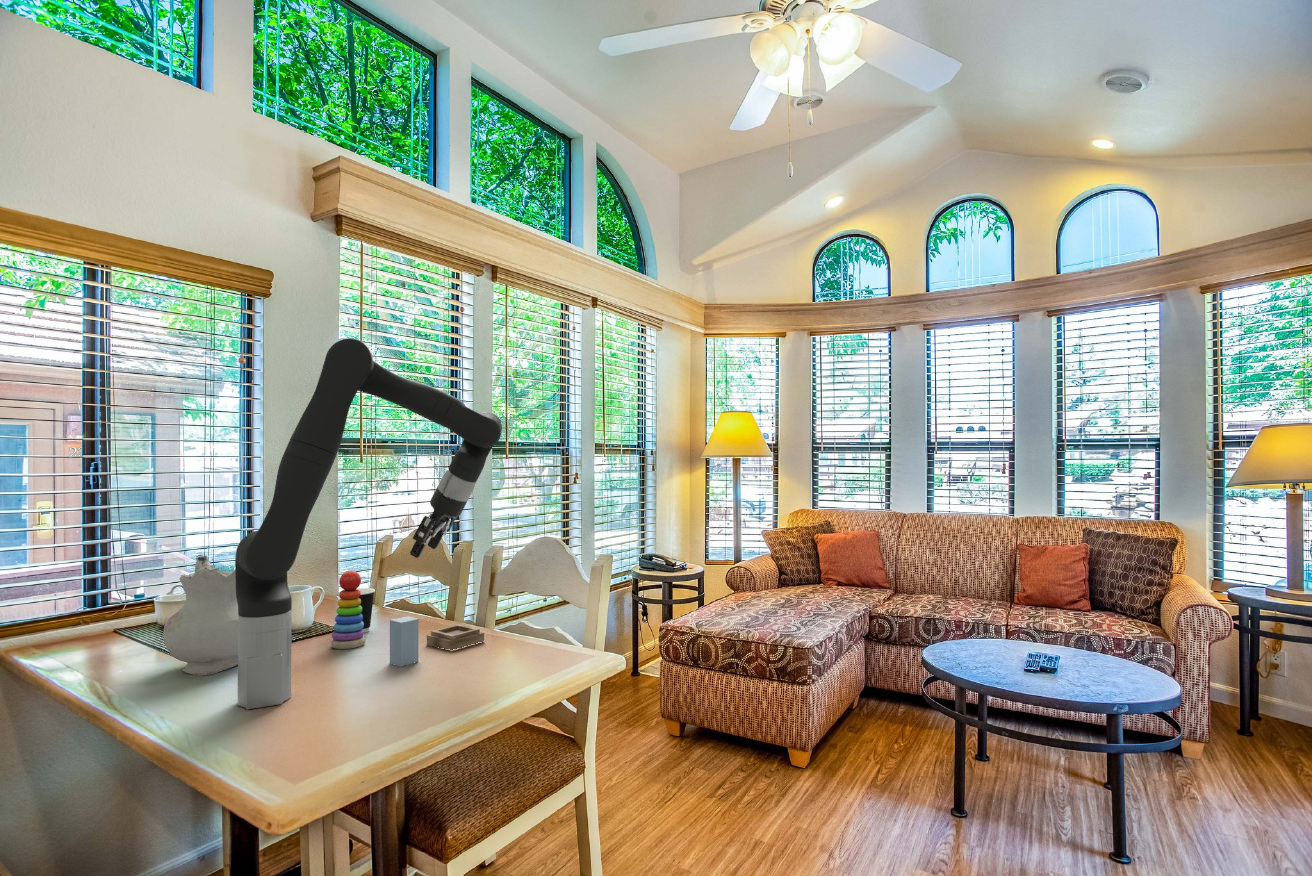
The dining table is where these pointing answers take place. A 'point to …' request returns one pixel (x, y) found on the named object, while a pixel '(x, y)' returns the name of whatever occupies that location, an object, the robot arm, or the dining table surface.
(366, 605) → the dixie cup
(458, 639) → the walnut socket base
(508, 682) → the dining table surface
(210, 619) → the ceramic pitcher
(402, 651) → the slate-blue pillar
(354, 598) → the stacking toy
